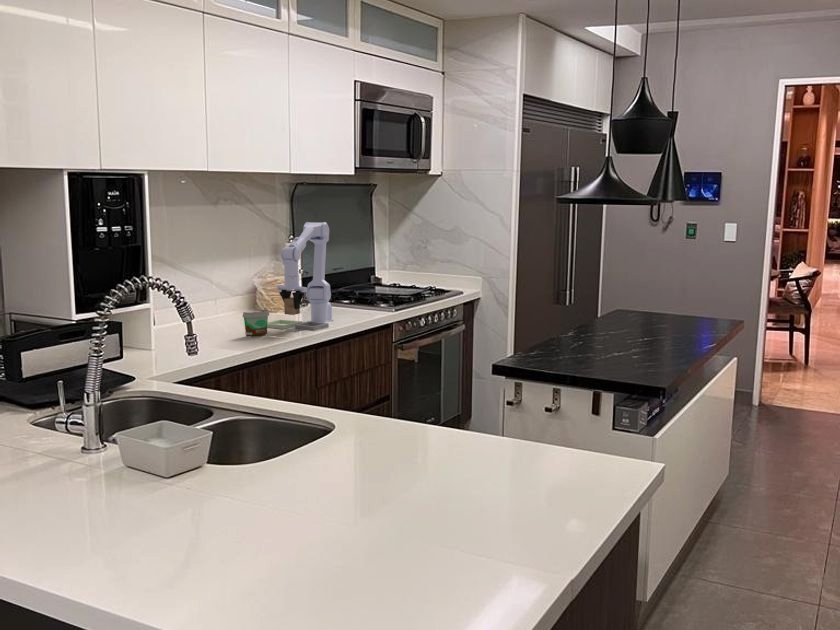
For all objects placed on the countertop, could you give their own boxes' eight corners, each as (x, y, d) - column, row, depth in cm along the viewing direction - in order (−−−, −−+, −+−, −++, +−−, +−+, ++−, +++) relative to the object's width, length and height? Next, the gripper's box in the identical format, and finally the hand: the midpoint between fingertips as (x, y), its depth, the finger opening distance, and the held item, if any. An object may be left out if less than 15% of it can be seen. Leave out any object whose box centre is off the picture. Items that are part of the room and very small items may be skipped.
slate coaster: (293, 329, 350) (293, 328, 350) (304, 331, 347) (304, 329, 347) (284, 332, 345) (284, 330, 345) (295, 333, 342) (295, 331, 342)
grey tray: (309, 326, 359) (309, 321, 359) (328, 327, 354) (328, 323, 354) (295, 329, 351) (295, 324, 351) (314, 331, 346) (313, 326, 346)
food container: (253, 338, 331) (252, 313, 330) (243, 336, 335) (242, 312, 334) (276, 333, 341) (275, 309, 340) (266, 332, 345) (265, 308, 343)
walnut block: (291, 312, 349) (290, 297, 348) (299, 313, 347) (299, 298, 346) (284, 314, 345) (284, 298, 344) (293, 315, 343) (292, 299, 342)
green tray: (280, 323, 366) (280, 319, 365) (302, 326, 360) (302, 321, 359) (262, 327, 355) (262, 323, 355) (284, 330, 349) (284, 325, 349)
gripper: (271, 276, 344) (272, 308, 346) (298, 277, 337) (299, 310, 339) (282, 274, 350) (283, 306, 352) (309, 276, 343) (310, 308, 345)
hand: (292, 308), depth 346 cm, fingers closed on walnut block, 4 cm apart
